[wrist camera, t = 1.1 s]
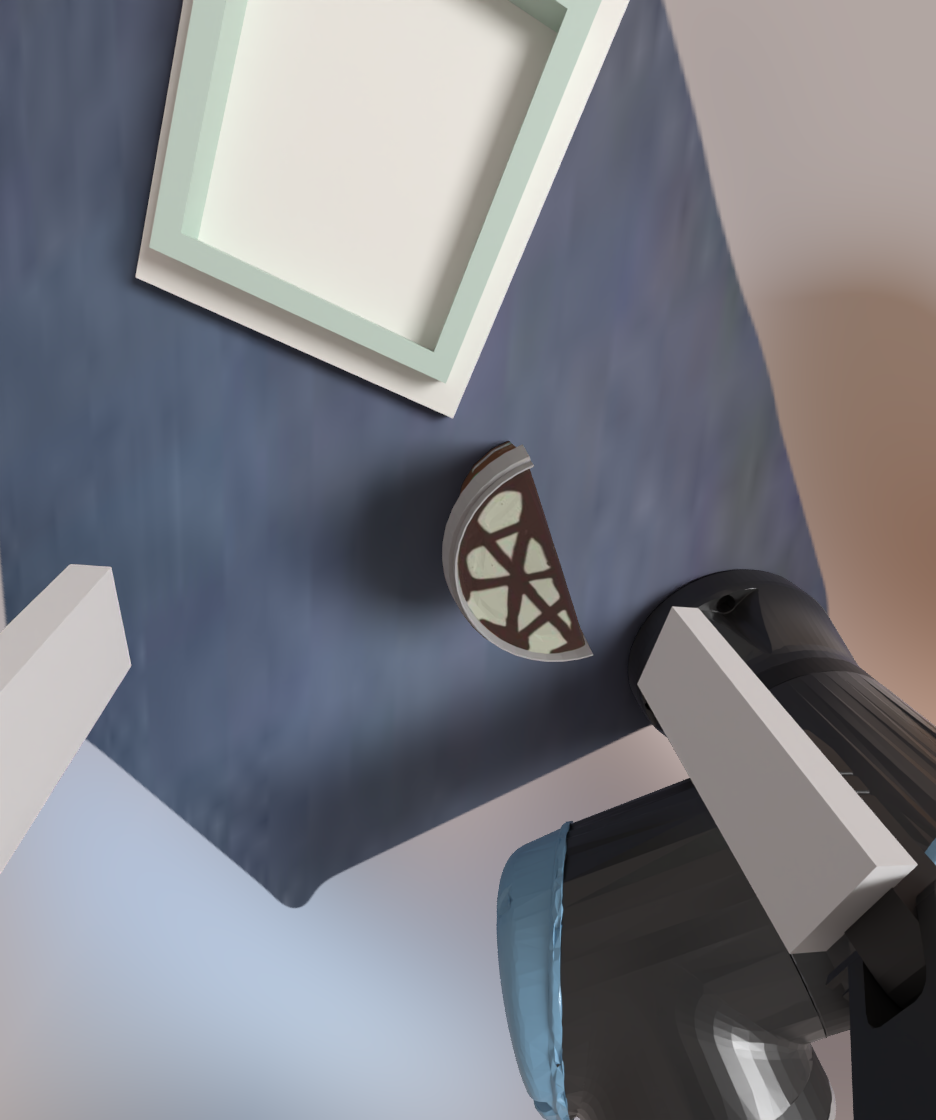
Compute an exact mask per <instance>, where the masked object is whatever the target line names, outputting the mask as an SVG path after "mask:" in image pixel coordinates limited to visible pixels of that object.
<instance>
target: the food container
mask: <svg viewBox="0 0 936 1120" xmlns="http://www.w3.org/2000/svg"><path fill="white" fill-rule="evenodd" d="M532 467H534V465H533V463H532V462H531V460H530V457H529V455H528V453H527V452H526V450H525V448H524V446H523V445H520V446H518V447H515V446H514V445H513V444H512V443H511V442H510V441H507V442H505V443H503V444H501V445H499V446H497V447H495V448H493V449H491V450H490V451H489V452H488V453H487V454H486V455H484V456H483V457H482V458H481V459H480V460H479V461H478V462H476V463H475V464H474V466H473V467H472V469H471V471H470V472H469V474H468V475H467V477H466V479H465V480H464V482H463V484H462V487H461V491H460V496H459V498H458V500H457V502H456V503H455V505H454V507H453V509H452V511H451V514H450V516H449V519H448V522H447V524H446V528H445V533H444V538H443V546H442V562H443V569H444V575H445V579H446V582H447V585H448V588H449V591H450V593H451V595H452V596H453V598H454V600H455V602H456V604H457V605H458V607H459V609H460V610H461V612H462V614H463V615H464V617H465V618H466V619H467V620H468V622H469V623H470V624H471V626H472V627H473V628H474V629H475V630H476V631H478V632H479V633H480V634H481V635H482V636H483V637H484V638H486V639H487V640H489V641H490V642H492V643H493V644H495V645H496V646H498V647H499V648H501V649H503V650H505V651H507V652H509V653H512V654H514V655H516V656H520V657H523V658H527V659H531V660H538V661H545V662H564V661H571V660H578V659H582V658H586V657H590V656H593V653H592V651H591V649H590V647H589V645H588V643H587V641H586V639H585V637H584V635H583V632H582V630H581V628H580V626H579V623H578V620H577V616H576V613H575V610H574V607H573V603H572V600H571V597H570V594H569V591H568V588H567V585H566V581H565V578H564V575H563V571H562V568H561V565H560V562H559V559H558V556H557V553H556V550H555V547H554V544H553V541H552V537H551V534H550V531H549V528H548V525H547V521H546V518H545V515H544V512H543V509H542V506H541V502H540V499H539V496H538V493H537V490H536V487H535V484H534V481H533V478H532V475H531V472H530V468H532Z"/></svg>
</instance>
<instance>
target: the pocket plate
mask: <svg viewBox="0 0 936 1120" xmlns="http://www.w3.org/2000/svg"><path fill="white" fill-rule="evenodd" d="M628 3H629V0H183V6H182V12H181V17H180V23H179V29H178V35H177V41H176V46H175V52H174V58H173V64H172V69H171V75H170V81H169V87H168V92H167V98H166V104H165V110H164V115H163V121H162V127H161V133H160V139H159V144H158V150H157V156H156V162H155V167H154V173H153V179H152V185H151V190H150V196H149V202H148V208H147V214H146V219H145V225H144V231H143V237H142V242H141V248H140V254H139V260H138V265H137V271H136V278H138V279H140V280H143V281H145V282H147V283H149V284H152V285H154V286H156V287H158V288H161V289H163V290H165V291H167V292H170V293H172V294H174V295H176V296H179V297H181V298H183V299H185V300H188V301H190V302H192V303H194V304H197V305H199V306H201V307H203V308H206V309H208V310H210V311H212V312H215V313H217V314H219V315H221V316H224V317H226V318H228V319H230V320H233V321H235V322H237V323H239V324H242V325H244V326H246V327H248V328H251V329H253V330H255V331H257V332H260V333H262V334H264V335H266V336H269V337H271V338H273V339H275V340H278V341H280V342H282V343H284V344H287V345H289V346H291V347H293V348H296V349H298V350H300V351H302V352H305V353H307V354H309V355H311V356H314V357H316V358H318V359H320V360H323V361H325V362H327V363H329V364H332V365H334V366H336V367H338V368H341V369H343V370H345V371H347V372H350V373H352V374H354V375H356V376H359V377H361V378H363V379H365V380H368V381H370V382H372V383H374V384H377V385H379V386H381V387H383V388H386V389H388V390H390V391H392V392H395V393H397V394H399V395H401V396H404V397H406V398H408V399H410V400H413V401H415V402H417V403H419V404H422V405H424V406H426V407H428V408H431V409H433V410H435V411H437V412H440V413H442V414H444V415H446V416H449V417H451V418H453V417H454V415H455V412H456V410H457V408H458V405H459V403H460V401H461V398H462V396H463V393H464V391H465V389H466V386H467V384H468V382H469V379H470V377H471V374H472V372H473V370H474V367H475V365H476V363H477V360H478V358H479V356H480V353H481V351H482V348H483V346H484V344H485V341H486V339H487V337H488V334H489V332H490V329H491V327H492V325H493V322H494V320H495V318H496V315H497V313H498V311H499V308H500V306H501V303H502V301H503V299H504V296H505V294H506V292H507V289H508V287H509V284H510V282H511V280H512V277H513V275H514V273H515V270H516V268H517V266H518V263H519V261H520V258H521V256H522V254H523V251H524V249H525V247H526V244H527V242H528V239H529V237H530V235H531V232H532V230H533V228H534V225H535V223H536V221H537V218H538V216H539V213H540V211H541V209H542V206H543V204H544V202H545V199H546V197H547V194H548V192H549V190H550V187H551V185H552V183H553V180H554V178H555V176H556V173H557V171H558V168H559V166H560V164H561V161H562V159H563V157H564V154H565V152H566V149H567V147H568V145H569V142H570V140H571V138H572V135H573V133H574V130H575V128H576V126H577V123H578V121H579V119H580V116H581V114H582V112H583V109H584V107H585V104H586V102H587V100H588V97H589V95H590V93H591V90H592V88H593V85H594V83H595V81H596V78H597V76H598V74H599V71H600V69H601V67H602V64H603V62H604V59H605V57H606V55H607V52H608V50H609V48H610V45H611V43H612V40H613V38H614V36H615V33H616V31H617V29H618V26H619V24H620V22H621V19H622V17H623V14H624V12H625V10H626V7H627V5H628Z"/></svg>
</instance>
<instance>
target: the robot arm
mask: <svg viewBox="0 0 936 1120" xmlns="http://www.w3.org/2000/svg"><path fill="white" fill-rule="evenodd" d="M130 667H131V661H130V657H129V652H128V647H127V642H126V637H125V632H124V627H123V622H122V617H121V613H120V608H119V603H118V598H117V593H116V588H115V583H114V578H113V574H112V569H111V567H104V566H89V565H75V564H70V565H69V566H68V567H67V568H66V569H65V570H64V571H63V572H62V573H61V574H60V575H59V576H58V577H56V578H55V579H54V580H53V581H52V582H51V583H50V584H49V585H48V586H47V587H46V588H45V589H44V590H43V591H42V592H41V593H40V594H39V595H38V596H37V597H36V598H35V599H34V600H33V601H32V602H31V603H30V604H29V605H28V606H27V607H26V608H25V609H24V610H23V611H22V612H21V613H20V614H19V615H18V616H17V617H15V618H14V619H13V620H12V621H11V622H10V623H9V624H8V625H7V626H6V627H5V628H4V629H3V630H2V631H1V632H0V874H1V873H2V871H3V869H4V868H5V866H6V865H7V863H8V862H9V860H10V858H11V856H12V855H13V853H14V852H15V850H16V849H17V847H18V846H19V844H20V842H21V841H22V839H23V838H24V836H25V834H26V833H27V831H28V829H29V828H30V826H31V825H32V823H33V822H34V820H35V818H36V817H37V815H38V814H39V812H40V810H41V809H42V807H43V806H44V804H45V803H46V801H47V799H48V798H49V796H50V795H51V793H52V791H53V790H54V788H55V786H56V785H57V783H58V782H59V780H60V779H61V777H62V775H63V774H64V772H65V771H66V769H67V767H68V766H69V764H70V763H71V761H72V759H73V758H74V756H75V755H76V753H77V751H78V750H79V748H80V747H81V745H82V744H83V741H84V740H85V739H86V737H87V736H88V734H89V732H90V731H91V729H92V728H93V726H94V724H95V723H96V721H97V720H98V718H99V716H100V715H101V713H102V712H103V710H104V708H105V707H106V705H107V704H108V702H109V700H110V699H111V697H112V696H113V694H114V693H115V691H116V689H117V688H118V686H119V685H120V683H121V681H122V680H123V678H124V677H125V675H126V673H127V672H128V670H129V669H130ZM628 678H629V683H630V687H631V690H632V692H633V695H634V697H635V698H636V700H637V702H638V704H639V706H640V707H641V709H642V711H643V713H644V714H645V716H646V717H647V719H648V720H649V721H650V722H651V723H652V725H653V726H654V727H655V728H656V729H657V730H659V731H660V732H661V733H662V734H663V735H665V736H666V737H667V738H668V740H669V741H670V743H671V745H672V747H673V748H674V750H675V752H676V754H677V756H678V757H679V759H680V761H681V763H682V764H683V766H684V768H685V770H686V771H687V773H688V775H689V777H690V778H689V779H686V780H683V781H681V782H678V783H676V784H673V785H670V786H668V787H665V788H662V789H660V790H657V791H655V792H652V793H650V794H647V795H644V796H642V797H639V798H637V799H634V800H631V801H629V802H627V803H624V804H621V805H619V806H616V807H614V808H611V809H608V810H606V811H603V812H601V813H598V814H595V815H593V816H590V817H588V818H585V819H582V820H580V821H577V822H575V823H573V821H569V822H566V823H565V824H563V825H562V827H561V829H558V830H556V831H554V832H552V833H550V834H547V835H545V836H543V837H541V838H539V839H536V840H534V841H532V842H530V843H527V844H525V845H523V846H522V847H520V848H519V849H517V850H516V851H515V852H514V853H513V854H512V855H511V856H510V858H509V859H508V861H507V863H506V865H505V867H504V869H503V872H502V876H501V879H500V884H499V891H498V898H497V946H498V961H499V970H500V979H501V986H502V994H503V1000H504V1006H505V1012H506V1017H507V1022H508V1027H509V1032H510V1036H511V1041H512V1045H513V1049H514V1053H515V1057H516V1061H517V1064H518V1068H519V1071H520V1074H521V1077H522V1080H523V1083H524V1085H525V1087H526V1090H527V1092H528V1094H529V1096H530V1097H531V1098H532V1099H533V1100H534V1105H535V1108H536V1109H537V1111H538V1112H539V1113H540V1115H541V1116H542V1117H543V1118H544V1119H546V1120H574V1118H575V1117H576V1116H577V1117H578V1118H580V1120H835V1116H836V1102H835V1096H834V1092H833V1089H832V1087H831V1084H830V1082H829V1079H828V1077H827V1075H826V1073H825V1071H824V1069H823V1068H822V1066H821V1063H820V1061H819V1060H818V1058H817V1056H816V1053H815V1052H814V1050H813V1047H812V1045H811V1042H814V1041H817V1040H820V1039H823V1038H825V1037H826V1038H827V1037H828V1036H830V1035H834V1034H837V1033H840V1032H844V1031H847V1030H850V1036H851V1061H852V1086H853V1087H852V1088H853V1114H854V1120H936V726H935V725H933V724H932V723H931V722H929V721H928V720H927V719H926V718H924V717H923V716H922V715H920V714H919V713H918V712H916V711H915V710H914V709H913V708H911V707H910V706H909V705H908V704H906V703H905V702H903V701H902V700H901V699H900V698H899V697H897V696H896V695H895V694H893V693H892V692H891V691H890V690H888V689H887V688H886V687H884V686H883V685H882V684H880V683H879V682H878V681H876V680H875V679H874V678H872V677H871V676H870V675H868V674H867V673H866V672H865V671H864V670H862V669H861V668H860V667H859V666H858V665H857V663H856V661H855V660H854V658H853V656H852V655H851V653H850V651H849V650H848V648H847V646H846V645H845V643H844V642H843V640H842V638H841V637H840V635H839V633H838V632H837V630H836V628H835V627H834V625H833V624H832V622H831V620H830V618H829V616H828V615H827V613H826V612H825V610H824V609H823V608H822V607H821V606H820V605H819V603H818V602H817V601H816V600H814V599H813V598H812V597H811V596H810V595H808V594H807V593H806V592H804V591H803V590H801V589H800V588H799V587H797V586H796V585H794V584H793V583H791V582H790V581H788V580H787V579H785V578H783V577H781V576H778V575H775V574H772V573H769V572H764V571H758V570H733V571H726V572H721V573H717V574H714V575H710V576H707V577H704V578H702V579H699V580H697V581H695V582H693V583H691V584H689V585H687V586H685V587H683V588H682V589H680V590H678V591H677V592H675V593H674V594H673V595H671V596H670V597H669V598H667V599H666V600H665V601H664V602H663V603H661V604H660V605H659V606H658V607H657V608H656V609H655V610H654V611H653V612H652V614H651V615H650V616H649V617H648V618H647V620H646V621H645V623H644V624H643V625H642V627H641V629H640V630H639V632H638V634H637V636H636V638H635V640H634V642H633V645H632V648H631V651H630V655H629V661H628Z"/></svg>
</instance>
